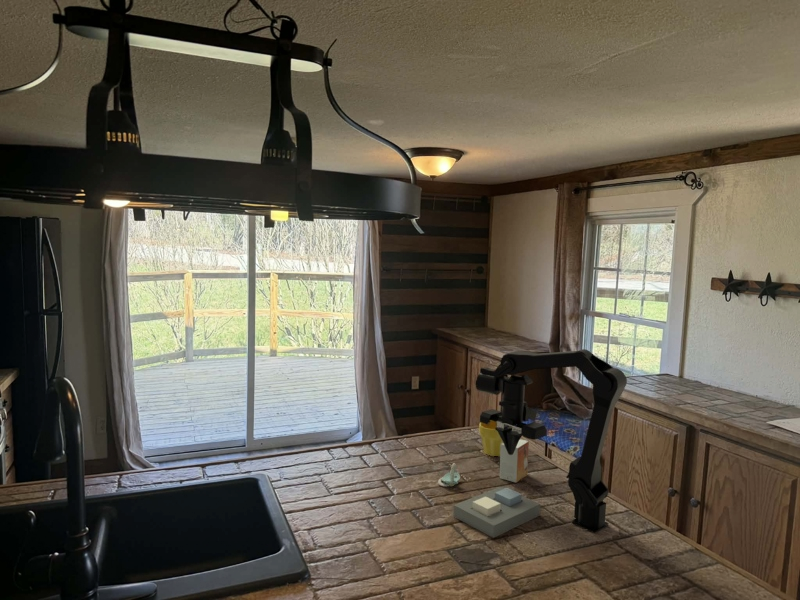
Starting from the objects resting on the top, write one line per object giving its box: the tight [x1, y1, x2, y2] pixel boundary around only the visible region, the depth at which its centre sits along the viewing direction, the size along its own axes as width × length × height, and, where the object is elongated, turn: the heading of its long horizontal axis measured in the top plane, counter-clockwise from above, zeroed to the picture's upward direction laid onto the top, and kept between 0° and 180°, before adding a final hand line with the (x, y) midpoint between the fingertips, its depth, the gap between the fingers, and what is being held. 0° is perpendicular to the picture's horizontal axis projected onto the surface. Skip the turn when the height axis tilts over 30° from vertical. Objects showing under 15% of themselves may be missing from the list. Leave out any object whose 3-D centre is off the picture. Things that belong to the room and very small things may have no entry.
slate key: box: [495, 487, 523, 507], centre depth 142 cm, size 5×5×3 cm
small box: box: [498, 438, 530, 483], centre depth 164 cm, size 8×6×10 cm
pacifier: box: [437, 462, 461, 488], centre depth 158 cm, size 7×6×6 cm
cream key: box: [473, 497, 500, 517], centre depth 136 cm, size 5×5×3 cm
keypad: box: [453, 486, 541, 539], centre depth 139 cm, size 13×18×3 cm
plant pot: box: [478, 420, 503, 457], centre depth 182 cm, size 10×10×10 cm
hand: (510, 454), depth 149 cm, fingers closed
